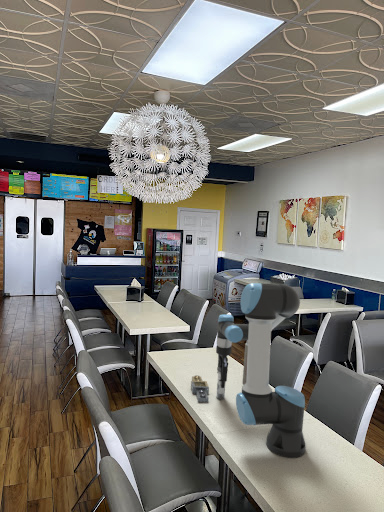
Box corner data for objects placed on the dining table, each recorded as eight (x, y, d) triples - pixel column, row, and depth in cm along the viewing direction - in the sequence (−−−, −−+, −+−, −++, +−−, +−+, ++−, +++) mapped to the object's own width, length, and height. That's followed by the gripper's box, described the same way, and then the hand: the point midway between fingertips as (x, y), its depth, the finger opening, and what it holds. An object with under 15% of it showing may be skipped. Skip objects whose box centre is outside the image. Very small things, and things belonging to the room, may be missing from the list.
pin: (226, 399, 195) (228, 370, 194) (216, 399, 194) (218, 370, 193) (224, 395, 200) (226, 366, 199) (214, 395, 199) (216, 366, 198)
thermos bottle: (254, 387, 212) (258, 337, 210) (240, 384, 216) (244, 334, 213) (258, 383, 219) (262, 334, 217) (245, 379, 223) (249, 331, 221)
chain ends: (211, 402, 191) (212, 395, 191) (194, 402, 190) (195, 395, 190) (203, 380, 218) (203, 374, 217) (188, 380, 217) (189, 374, 216)
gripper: (235, 351, 187) (231, 398, 189) (227, 341, 204) (224, 384, 205) (219, 350, 186) (216, 398, 188) (213, 340, 203) (210, 384, 205)
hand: (220, 391), depth 197 cm, fingers closed on pin, 4 cm apart
